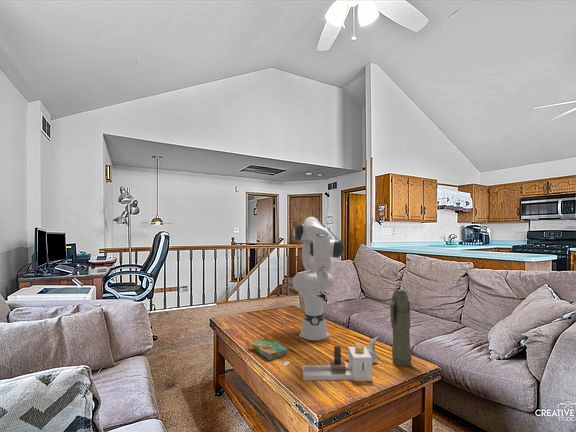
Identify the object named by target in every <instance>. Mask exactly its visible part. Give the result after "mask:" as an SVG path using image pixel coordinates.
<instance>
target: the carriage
mask: <svg viewBox="0 0 576 432" xmlns="http://www.w3.org/2000/svg"><path fill="white" fill-rule="evenodd" d="M333 348H334V349H333V357H334V359H329V361H330V363H329V365H330V366H331V367H332V373H346V366H345V365H346V364H345V361H344V359H342V351H341V350H342V347H341V346H340V345H335V346H333Z"/></svg>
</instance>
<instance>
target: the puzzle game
mask: <svg viewBox="0 0 576 432" xmlns="http://www.w3.org/2000/svg"><path fill="white" fill-rule="evenodd" d="M249 346H250V347H251V348H253V350H254V351H255V352H256V353H258V354H260V355H261V356H262V357H264V358H265V359H267V360H269V361H272V360H275V359H279V358H282V357H284V356H286V355H287V353H288V348H287V347H285V346H283V345H282V344H280V343H277V342H275V341H273V340H272V339H270V338H263V339H260V340H255V341H252V342H249Z"/></svg>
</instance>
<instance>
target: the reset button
mask: <svg viewBox="0 0 576 432" xmlns="http://www.w3.org/2000/svg"><path fill="white" fill-rule="evenodd" d="M364 347H365V346H364V345H363V346H361V345H357V346H355V352H357V353H364Z"/></svg>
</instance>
